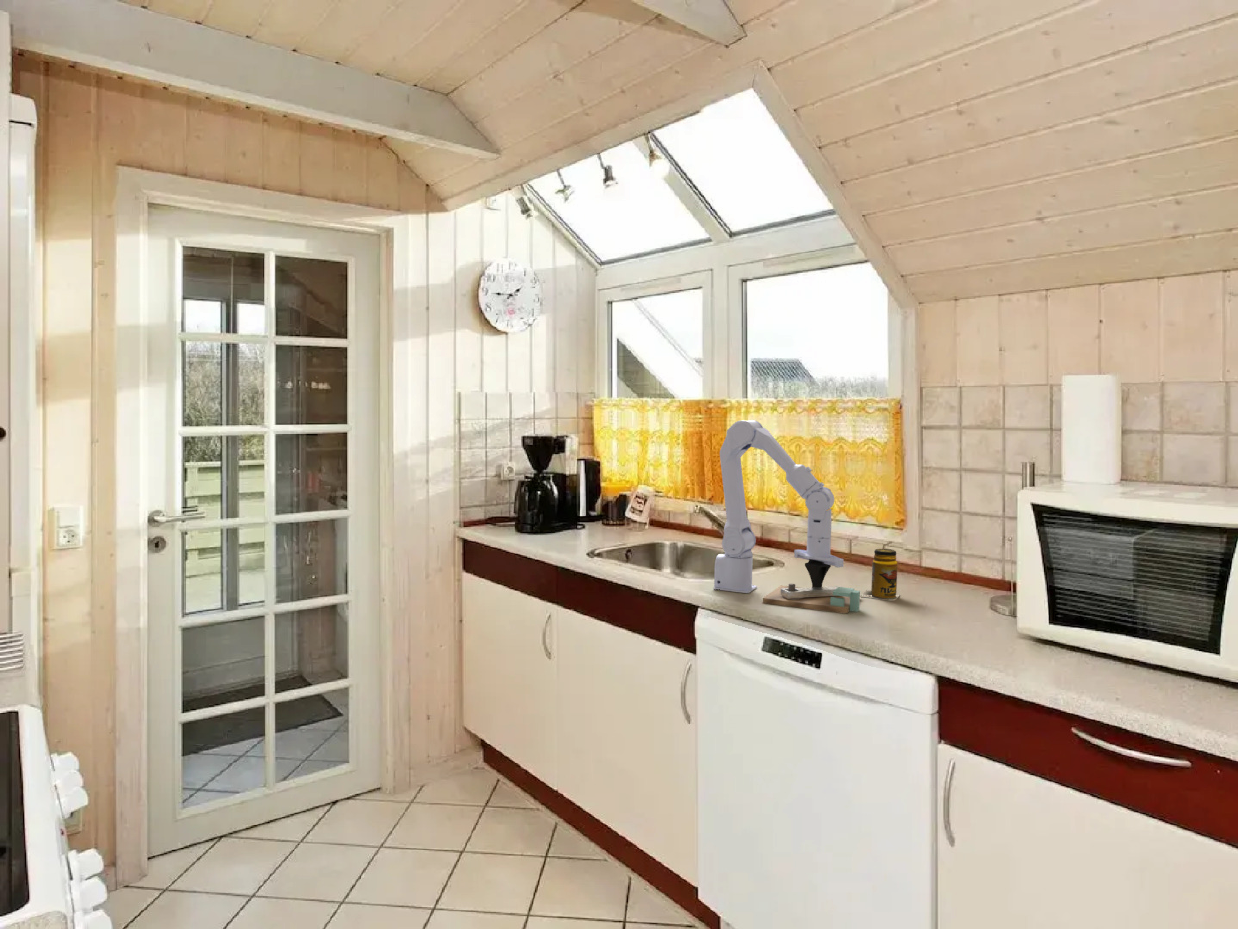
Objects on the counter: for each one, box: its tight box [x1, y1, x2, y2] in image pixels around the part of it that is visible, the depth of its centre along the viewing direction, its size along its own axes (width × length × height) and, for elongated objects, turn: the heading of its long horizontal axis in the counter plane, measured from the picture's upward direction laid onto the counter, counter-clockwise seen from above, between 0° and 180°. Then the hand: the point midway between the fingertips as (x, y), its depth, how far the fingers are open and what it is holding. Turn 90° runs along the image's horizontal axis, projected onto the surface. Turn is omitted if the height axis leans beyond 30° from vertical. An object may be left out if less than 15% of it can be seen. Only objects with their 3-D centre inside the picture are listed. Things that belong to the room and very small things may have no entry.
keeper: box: [830, 586, 861, 613], centre depth 185 cm, size 6×6×4 cm
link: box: [780, 585, 839, 599], centre depth 192 cm, size 15×4×2 cm, turn 104°
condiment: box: [860, 548, 900, 602], centre depth 199 cm, size 7×8×12 cm
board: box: [762, 583, 850, 614], centre depth 193 cm, size 20×16×4 cm
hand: (817, 591), depth 195 cm, fingers closed, pressing on link
